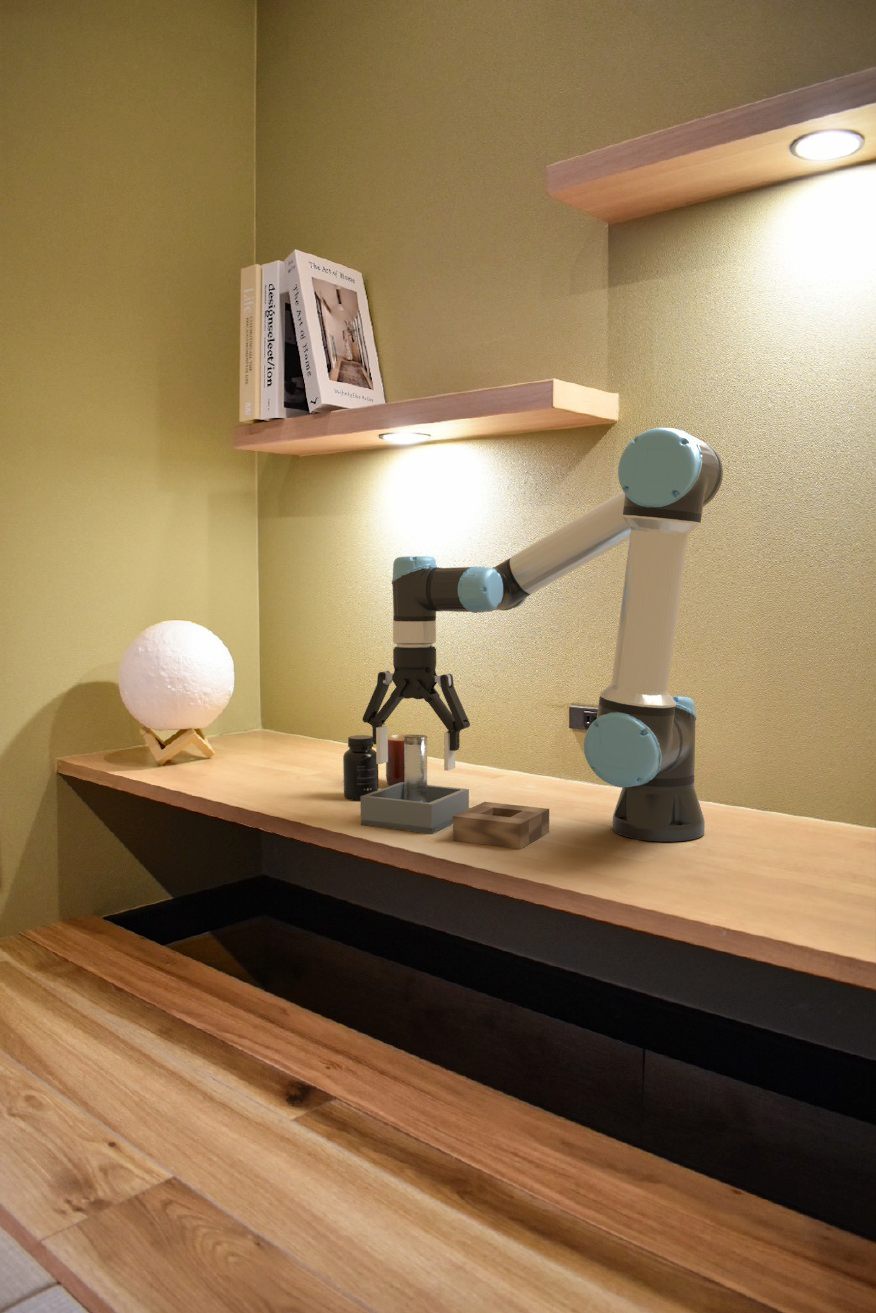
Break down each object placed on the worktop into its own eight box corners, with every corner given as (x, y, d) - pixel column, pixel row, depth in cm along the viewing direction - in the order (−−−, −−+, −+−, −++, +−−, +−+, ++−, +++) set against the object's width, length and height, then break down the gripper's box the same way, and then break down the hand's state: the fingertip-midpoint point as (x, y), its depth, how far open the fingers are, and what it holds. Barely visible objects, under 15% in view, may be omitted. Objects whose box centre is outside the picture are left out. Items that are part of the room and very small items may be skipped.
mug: (431, 789, 206) (431, 739, 205) (390, 792, 203) (390, 741, 202) (412, 778, 217) (411, 730, 217) (372, 781, 214) (372, 733, 214)
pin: (431, 814, 180) (431, 735, 179) (420, 818, 176) (420, 738, 175) (411, 811, 182) (411, 734, 180) (400, 816, 178) (400, 737, 177)
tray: (468, 816, 182) (468, 789, 181) (431, 833, 170) (431, 804, 169) (401, 808, 188) (401, 782, 188) (360, 824, 176) (360, 796, 176)
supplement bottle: (338, 796, 200) (337, 735, 199) (370, 792, 203) (369, 733, 202) (351, 802, 194) (351, 740, 193) (384, 799, 197) (383, 737, 196)
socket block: (549, 832, 170) (549, 808, 170) (520, 848, 160) (520, 823, 159) (484, 824, 176) (484, 801, 176) (452, 840, 165) (452, 815, 165)
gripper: (488, 645, 174) (488, 768, 176) (365, 642, 186) (366, 757, 187) (469, 648, 168) (469, 775, 169) (342, 644, 179) (344, 763, 181)
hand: (415, 766), depth 178 cm, fingers open, 13 cm apart
